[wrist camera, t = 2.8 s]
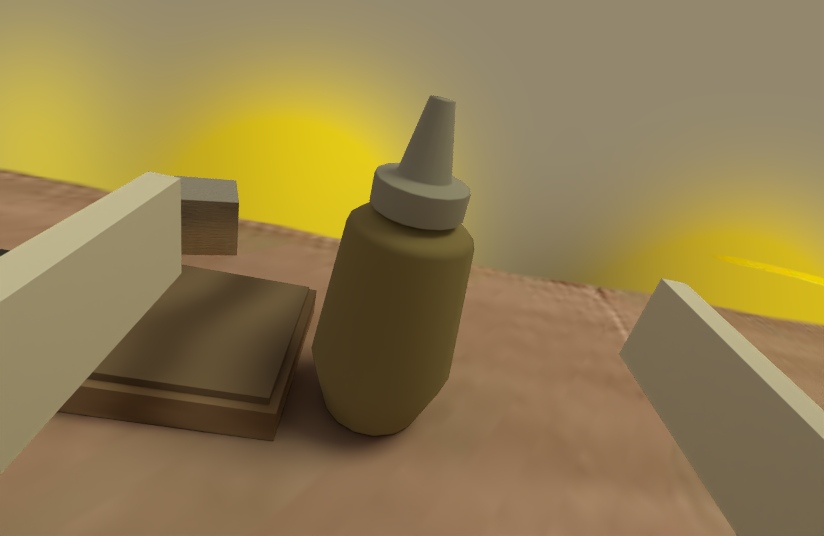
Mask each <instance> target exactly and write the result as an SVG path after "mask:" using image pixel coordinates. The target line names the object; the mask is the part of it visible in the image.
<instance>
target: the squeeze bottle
mask: <svg viewBox="0 0 824 536" xmlns="http://www.w3.org/2000/svg"><path fill="white" fill-rule="evenodd" d="M454 123H455V102H454V101H453V100H450V99H447V98H443V97H438V96H430V97H429V99H428V101H427V104H426V106H425V108H424V110H423V113H422V115H421V117H420V119H419V122H418V124H417V126H416V129H415V131H414V133H413V135H412V138H411V140H410V142H409V144H408V147H407V149H406V151H405V154H404V156H403V158H402V160H401V162H400V163H388V164H385V165H381V166H379V167H377V169H376V171H375V173H374V179H373V184H372V190H371V195H370V202H369V203H366V204H364V205H362V206H360V207H358V208H356V209H354V210H352V211H351V213H350V215H349V217H348V218H347V220H346V225H345V228H344V231H343V235H342V239H341V242H340V246H339V250H338V253H337V257H336V261H335V264H334V268H333V271H332V275H331V279H330V282H329V286H328V290H327V293H326V297H325V301H324V304H323V308H322V311H321V315H320V319H319V322H318V326H317V330H316V333H315V337H314V341H313V344H312V353H313V358H314V363H315V368H316V372H317V375H318V379H319V382H320V386H321V390H322V393H323V397H324V400H325V404H326V408H327V409H328V410H329V412H330V413H331V414H332V416H333V417H334V418H335V419H336V421H337V422H339V423H340V424H342V425H344V426H345V427H347V428H349V429H350V430H352V431H354V432H358V433H363V434H367V435H372V436H379V435H388V434H394V433H396V432H398V431H400V430H402V429H404V428H406V427H408V426H409V425H410V424H411V423H412V422H413V421H414V419H415V418H416V417H417V416H418V415H419V414H420V413H421V412H422V411H423V409H424V408H425V407H426V406H427V405H428V404H429V403H430V402H431V401H432V399H433V398H434V397H435V396H436V395H437V394H438V392H439V391H440V390H441V388H442V387H443V385H444V384H445V382H446V381H447V380H448V378H449V373H450V368H451V363H452V358H453V353H454V348H455V343H456V338H457V333H458V328H459V323H460V318H461V313H462V308H463V303H464V298H465V293H466V288H467V283H468V278H469V273H470V268H471V263H472V258H473V253H474V243H473V238H472V237H471V235H470V234H469V233H468V231H467V230H466V229H465V228H464V226H463V225H462V224H461V223H462V222H463V219H464V216H465V212H466V209H467V205H468V202H469V199H470V189H469V187H468V186H467V185H466V184H465V183H463V182H462V181H461V180H459V179H457V178H455V177H453V176H452V163H453V143H454Z"/></svg>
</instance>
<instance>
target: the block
mask: <svg viewBox="0 0 824 536" xmlns="http://www.w3.org/2000/svg"><path fill="white" fill-rule="evenodd" d="M174 177H178V178H181V254H185V255H237V238H238V211H239V200H238V193H237V184H236V181H234V180H221V179H208V178H195V177H182V176H174Z"/></svg>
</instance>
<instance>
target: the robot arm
mask: <svg viewBox="0 0 824 536" xmlns="http://www.w3.org/2000/svg"><path fill="white" fill-rule="evenodd" d="M180 274H181V178H178V177H173V176H168V175H163V174H158V173H154V172H149V171H148V172H147V173H145V174H143V175H141V176H140V177H138V178H136V179H134V180H133V181H131V182H129V183H128V184H126V185H124V186H122V187H120V188H119V189H117V190H115V191H114V192H112V193H110V194H108V195H107V196H105V197H103V198H101V199H100V200H98V201H96V202H94V203H93V204H91V205H89V206H87V207H86V208H84V209H82V210H80V211H79V212H77V213H75V214H73V215H72V216H70V217H68V218H66V219H65V220H63V221H61V222H59V223H58V224H56V225H54V226H52V227H51V228H49V229H47V230H45V231H44V232H42V233H40V234H39V235H37V236H35V237H33V238H32V239H30V240H28V241H26V242H25V243H23V244H21V245H19V246H18V247H16V248H14V249H12V250H11V251H9V250H3V249H0V475H1V474H2V472H3V471H4V470H5V469H6V468H7V467H8V466H9V465H10V463H11V462H12V461H13V460H14V459H15V458H16V457H17V456H18V455H19V453H20V452H21V451H22V450H23V449H24V448H25V447H26V446H27V445H28V443H29V442H30V441H31V440H32V439H33V438H34V437H35V436H36V435H37V433H38V432H39V431H40V430H41V429H42V428H43V427H44V426H45V425H46V423H47V422H48V421H49V420H50V419H51V418H52V417H53V416H54V414H55V413H56V412H57V411H58V410H59V409H60V408H61V407H62V406H63V404H64V403H65V402H66V401H67V400H68V399H69V398H70V397H71V396H72V394H73V393H74V392H75V391H76V390H77V389H78V388H79V387H80V386H81V384H82V383H83V382H84V381H85V380H86V379H87V378H88V377H89V376H90V374H91V373H92V372H93V371H94V370H95V369H96V368H97V367H98V366H99V364H100V363H101V362H102V361H103V360H104V359H105V358H106V357H107V355H108V354H109V353H110V352H111V351H112V350H113V349H114V348H115V347H116V345H117V344H118V343H119V342H120V341H121V340H122V339H123V338H124V337H125V335H126V334H127V333H128V332H129V331H130V330H131V329H132V328H133V327H134V325H135V324H136V323H137V322H138V321H139V320H140V319H141V318H142V317H143V315H144V314H145V313H146V312H147V311H148V310H149V309H150V308H151V306H152V305H153V304H154V303H155V302H156V301H157V300H158V299H159V298H160V296H161V295H162V294H163V293H164V292H165V291H166V290H167V289H168V288H169V286H170V285H171V284H172V283H173V282H174V281H175V280H176V279H177V278H178V276H179V275H180ZM619 355H620V356H621V358H622V359H623V361H624V362H625V364H626V365H627V367H628V368H629V370H630V372H631V373H632V375H633V376H634V378H635V379H636V381H637V382H638V384H639V385H640V387H641V388H642V390H643V392H644V393H645V395H646V396H647V398H648V399H649V401H650V402H651V404H652V405H653V407H654V408H655V410H656V412H657V413H658V415H659V416H660V418H661V419H662V421H663V422H664V424H665V425H666V427H667V428H668V430H669V432H670V433H671V435H672V436H673V438H674V439H675V441H676V442H677V444H678V445H679V447H680V448H681V450H682V451H683V453H684V455H685V456H686V458H687V459H688V461H689V462H690V464H691V465H692V467H693V468H694V470H695V471H696V473H697V475H698V476H699V478H700V479H701V481H702V482H703V484H704V485H705V487H706V488H707V490H708V491H709V493H710V495H711V496H712V498H713V499H714V501H715V502H716V504H717V505H718V507H719V508H720V510H721V511H722V513H723V515H724V516H725V518H726V519H727V521H728V522H729V524H730V525H731V527H732V528H733V530H734V531H735V533H736V535H737V536H824V410H823V409H821V408H820V407H819V406H818V405H817V404H816V403H815V402H814V401H813V400H812V399H811V398H810V397H808V396H807V395H806V394H805V393H804V392H803V391H802V390H801V389H800V388H799V387H798V386H797V385H795V384H794V383H793V382H792V381H791V380H790V379H789V378H788V377H787V376H786V375H785V374H784V373H782V372H781V371H780V370H779V369H778V368H777V367H776V366H775V365H774V364H773V363H772V362H771V361H769V360H768V359H767V358H766V357H765V356H764V355H763V354H762V353H761V352H760V351H759V350H757V349H756V348H755V347H754V346H753V345H752V344H751V343H750V342H749V341H748V340H747V339H746V338H744V337H743V336H742V335H741V334H740V333H739V332H738V331H737V330H736V329H735V328H734V327H733V326H731V325H730V324H729V323H728V322H727V321H726V320H725V319H724V318H723V317H722V316H721V315H720V314H718V313H717V312H716V311H715V310H714V309H713V308H712V307H711V306H710V305H709V304H708V303H706V302H705V301H704V300H703V299H702V298H701V297H700V296H699V295H698V294H697V293H695V291H693V290H692V289H691V288H690V287H689V286H688V285H687V284H686V283H680V282H676V281H671V280H666V279H661V280H660V282H659V284H658V286H657V287H656V289H655V291H654V293H653V294H652V296H651V298H650V300H649V302H648V303H647V305H646V307H645V309H644V310H643V312H642V314H641V316H640V318H639V319H638V321H637V323H636V325H635V326H634V328H633V330H632V332H631V334H630V335H629V337H628V339H627V341H626V342H625V344H624V346H623V348H622V350H621V351H620V353H619Z"/></svg>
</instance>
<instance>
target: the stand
mask: <svg viewBox="0 0 824 536" xmlns="http://www.w3.org/2000/svg"><path fill="white" fill-rule="evenodd" d="M315 298H316V290H310V289H309V287H305V286H299V285H294V284H288V283H282V282H277V281H271V280H265V279H260V278H254V277H248V276H243V275H237V274H231V273H226V272H220V271H214V270H209V269H203V268H198V267H192V266H186V265H181V274H180V275H179V276H178V278H177V279H176V280H175V281H174V282H173V283H172V284H171V285H170V286H169V288H168V289H167V290H166V291H165V292H164V293H163V294H162V295H161V296H160V298H159V299H158V300H157V301H156V302H155V303H154V304H153V305H152V306H151V308H150V309H149V310H148V311H147V312H146V313H145V314H144V315H143V317H142V318H141V319H140V320H139V321H138V322H137V323H136V324H135V325H134V327H133V328H132V329H131V330H130V331H129V332H128V333H127V334H126V335H125V337H124V338H123V339H122V340H121V341H120V342H119V343H118V344H117V345H116V347H115V348H114V349H113V350H112V351H111V352H110V353H109V354H108V355H107V357H106V358H105V359H104V360H103V361H102V362H101V363H100V364H99V366H98V367H97V368H96V369H95V370H94V371H93V372H92V373H91V374H90V376H89V377H88V378H87V379H86V380H85V381H84V382H83V383H82V384H81V386H80V387H79V388H78V389H77V390H76V391H75V392H74V393H73V394H72V396H71V397H70V398H69V399H68V400H67V401H66V402H65V403H64V404H63V406H62V407H61V408H60V409H59V410H58V411H59V412H66V413H73V414H80V415H88V416H95V417H102V418H110V419H117V420H124V421H131V422H139V423H146V424H153V425H161V426H168V427H175V428H182V429H190V430H197V431H204V432H212V433H219V434H226V435H233V436H241V437H248V438H255V439H263V440H270V441H273V439H274V436H275V433H276V430H277V427H278V424H279V420H280V417H281V414H282V411H283V408H284V405H285V401H286V398H287V395H288V392H289V389H290V386H291V382H292V379H293V376H294V373H295V370H296V367H297V363H298V360H299V357H300V354H301V351H302V348H303V344H304V341H305V338H306V335H307V332H308V328H309V325H310V322H311V319H312V316H313V313H314V305H315Z"/></svg>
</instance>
